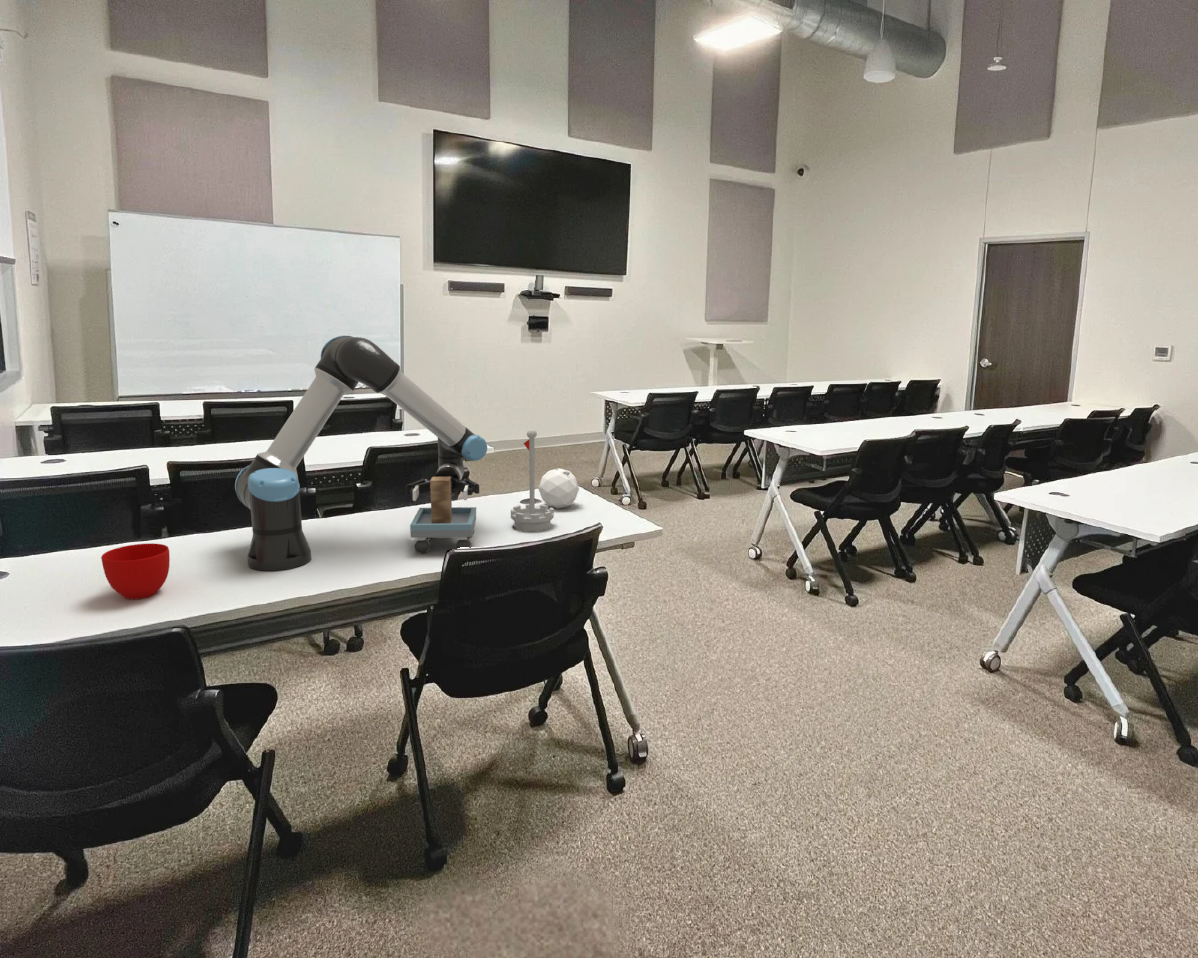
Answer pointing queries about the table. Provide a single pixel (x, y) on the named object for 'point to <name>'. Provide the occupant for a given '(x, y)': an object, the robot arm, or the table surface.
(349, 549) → the table surface
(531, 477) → the flag stand
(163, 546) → the red bowl
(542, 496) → the geodesic sphere
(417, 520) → the wheeled cart
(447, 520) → the walnut block
